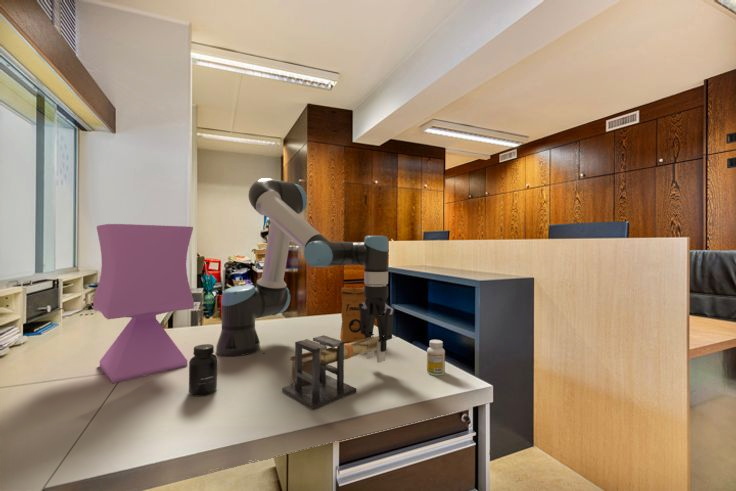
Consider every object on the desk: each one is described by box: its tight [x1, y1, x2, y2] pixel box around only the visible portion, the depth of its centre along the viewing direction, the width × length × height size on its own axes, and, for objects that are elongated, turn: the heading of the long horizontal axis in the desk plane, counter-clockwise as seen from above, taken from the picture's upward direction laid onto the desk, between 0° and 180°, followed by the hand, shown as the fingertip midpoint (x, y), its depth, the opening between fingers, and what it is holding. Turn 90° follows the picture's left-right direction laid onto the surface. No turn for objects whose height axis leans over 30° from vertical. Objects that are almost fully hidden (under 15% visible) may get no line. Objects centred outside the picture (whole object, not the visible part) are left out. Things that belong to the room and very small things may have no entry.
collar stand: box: [282, 334, 357, 411], centre depth 90 cm, size 14×14×13 cm
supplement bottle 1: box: [188, 343, 218, 397], centre depth 90 cm, size 7×7×12 cm
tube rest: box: [290, 351, 312, 381], centre depth 101 cm, size 6×8×6 cm
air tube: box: [320, 335, 379, 366], centre depth 99 cm, size 24×4×4 cm, turn 135°
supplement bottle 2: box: [426, 339, 446, 377], centre depth 104 cm, size 5×5×10 cm
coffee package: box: [339, 287, 366, 343], centre depth 138 cm, size 10×12×22 cm
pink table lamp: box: [93, 223, 195, 384], centre depth 109 cm, size 22×22×45 cm
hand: (375, 359), depth 106 cm, fingers closed on air tube, 4 cm apart
